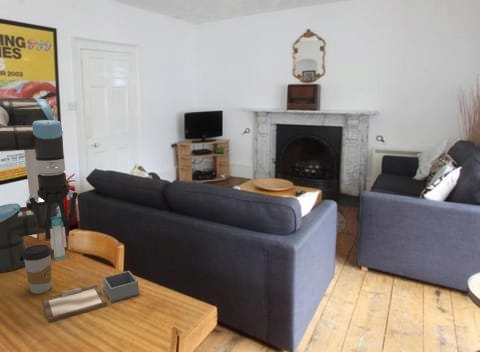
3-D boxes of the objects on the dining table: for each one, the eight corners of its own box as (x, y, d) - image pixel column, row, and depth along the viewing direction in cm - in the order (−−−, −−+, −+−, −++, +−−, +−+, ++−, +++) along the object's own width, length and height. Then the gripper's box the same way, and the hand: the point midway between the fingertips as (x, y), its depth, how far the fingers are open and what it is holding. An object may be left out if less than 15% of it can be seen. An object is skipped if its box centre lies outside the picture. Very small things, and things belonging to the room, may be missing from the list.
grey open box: (103, 290, 126) (102, 277, 125) (130, 283, 131) (129, 270, 130) (111, 303, 119) (110, 289, 117) (138, 294, 124) (138, 281, 123)
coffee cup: (42, 297, 121) (38, 255, 118) (21, 294, 123) (16, 252, 120) (59, 284, 129) (56, 245, 126) (39, 281, 131) (35, 242, 128)
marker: (53, 256, 114) (49, 217, 111) (64, 254, 116) (60, 215, 113) (55, 260, 112) (51, 220, 109) (66, 257, 114) (62, 218, 111)
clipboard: (42, 302, 118) (42, 296, 118) (97, 288, 128) (97, 282, 127) (48, 323, 108) (47, 317, 107) (107, 305, 117) (107, 300, 117)
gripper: (22, 178, 101) (31, 256, 106) (82, 172, 109) (87, 245, 115) (20, 173, 107) (28, 248, 112) (77, 168, 116) (82, 237, 121)
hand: (58, 246), depth 113 cm, fingers closed on marker, 2 cm apart
